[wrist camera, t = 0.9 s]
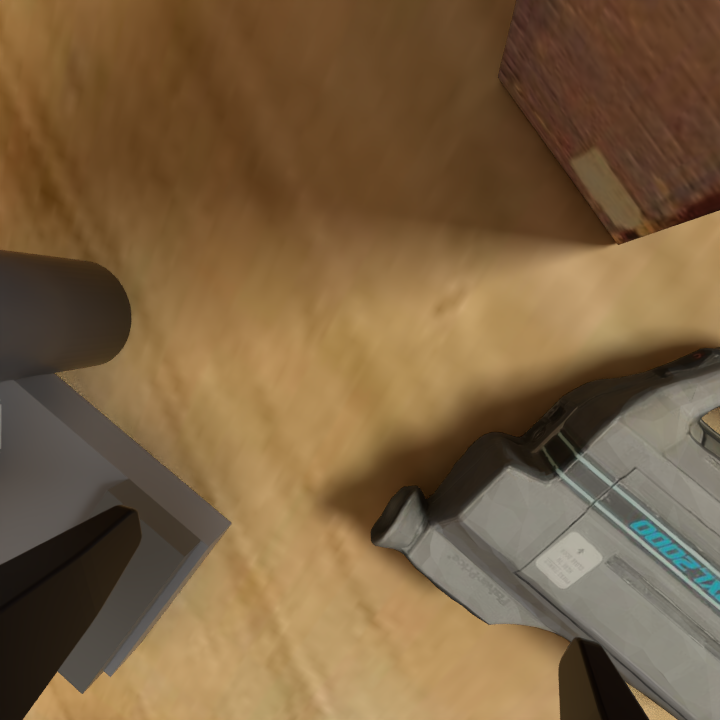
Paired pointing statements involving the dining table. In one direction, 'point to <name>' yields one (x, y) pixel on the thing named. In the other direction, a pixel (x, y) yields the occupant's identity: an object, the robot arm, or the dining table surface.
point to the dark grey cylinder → (58, 315)
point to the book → (624, 103)
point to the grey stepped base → (97, 510)
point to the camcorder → (592, 528)
